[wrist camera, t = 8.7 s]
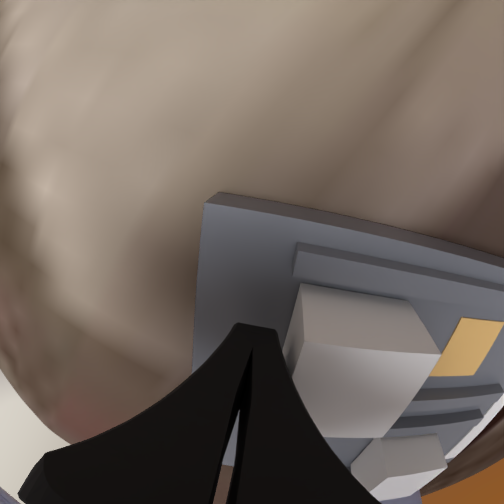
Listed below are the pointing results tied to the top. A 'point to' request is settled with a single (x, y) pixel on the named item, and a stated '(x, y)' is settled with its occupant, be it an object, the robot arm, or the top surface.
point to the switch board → (361, 281)
